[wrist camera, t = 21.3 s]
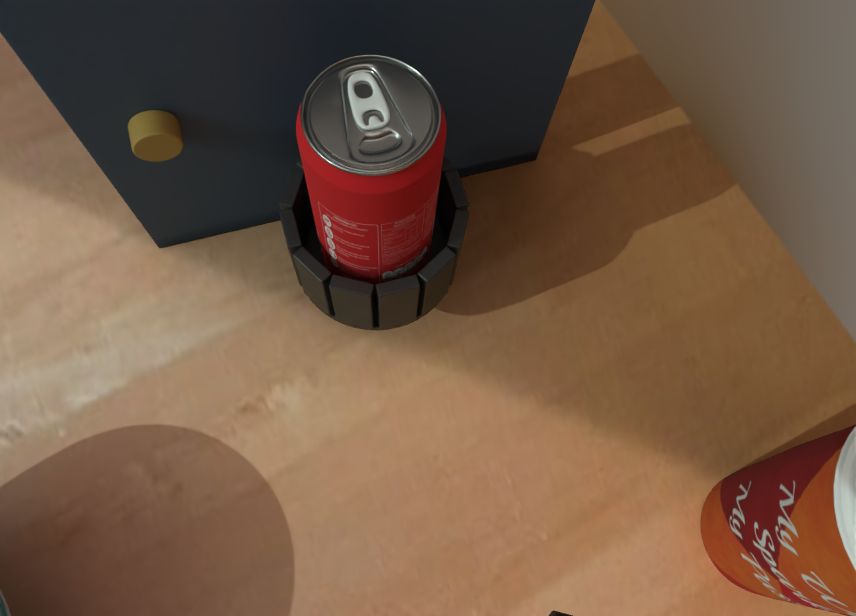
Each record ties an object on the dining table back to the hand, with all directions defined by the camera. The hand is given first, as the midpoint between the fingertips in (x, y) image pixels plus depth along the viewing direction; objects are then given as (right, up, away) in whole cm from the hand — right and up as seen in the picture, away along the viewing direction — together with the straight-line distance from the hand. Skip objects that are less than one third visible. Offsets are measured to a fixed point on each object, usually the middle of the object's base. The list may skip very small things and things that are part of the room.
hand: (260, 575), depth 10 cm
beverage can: (0, +6, +26) cm, 26 cm away
